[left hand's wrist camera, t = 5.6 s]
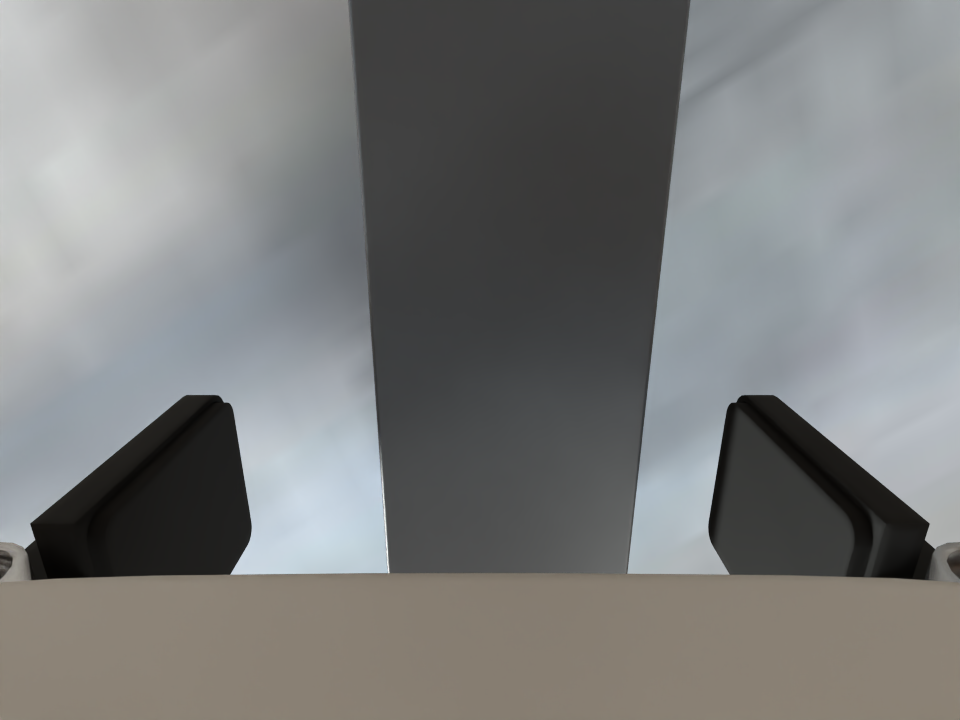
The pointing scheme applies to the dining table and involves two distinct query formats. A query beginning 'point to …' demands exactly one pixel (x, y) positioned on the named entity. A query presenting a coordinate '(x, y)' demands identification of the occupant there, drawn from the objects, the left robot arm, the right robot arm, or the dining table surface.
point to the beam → (513, 269)
